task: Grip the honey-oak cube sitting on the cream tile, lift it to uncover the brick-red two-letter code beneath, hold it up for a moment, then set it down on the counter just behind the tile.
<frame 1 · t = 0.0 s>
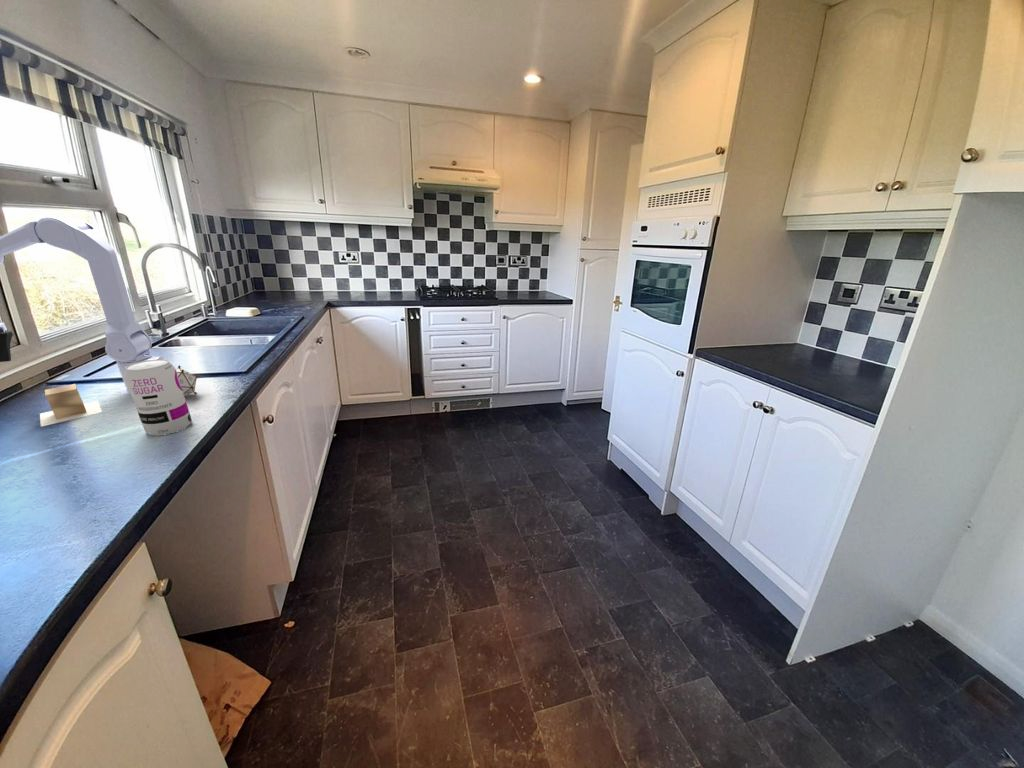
code tile: (72, 415, 97), on the countertop
oak cube: (71, 412, 97), point 1 cm above the countertop, touching code tile
game die: (183, 398, 107), on the countertop
supplement can: (170, 429, 91), on the countertop
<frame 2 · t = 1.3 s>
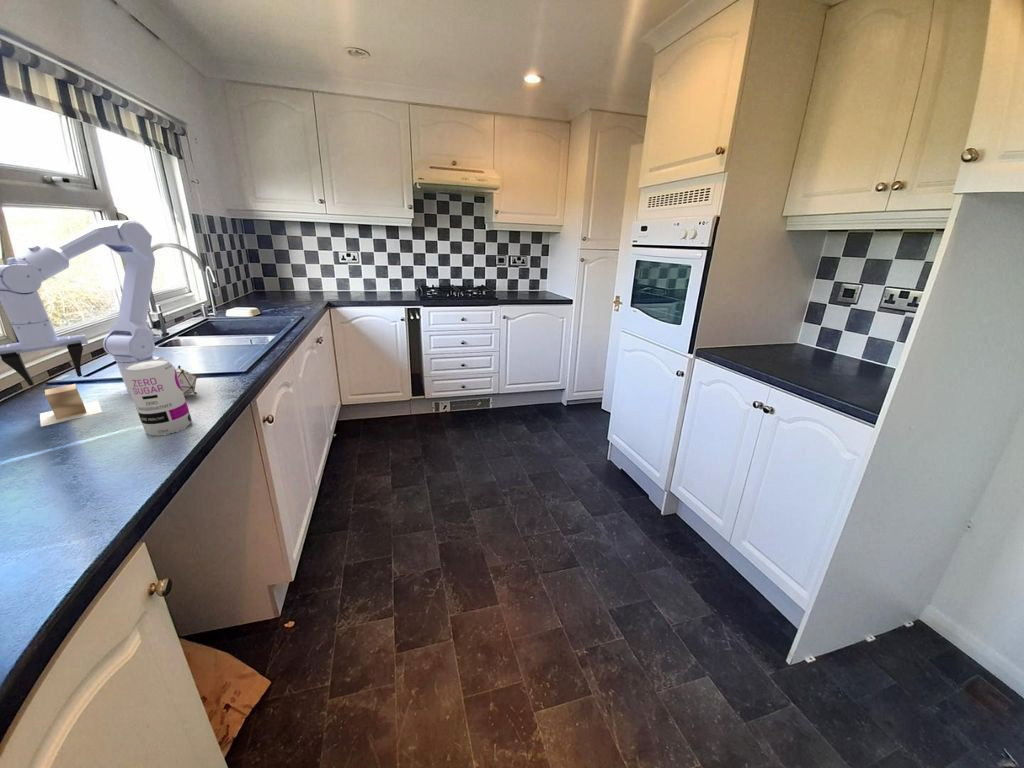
hand: (56, 380, 94), 9 cm above the countertop, tool pointing down, fingers open, 7 cm apart
nothing on the countertop moved.
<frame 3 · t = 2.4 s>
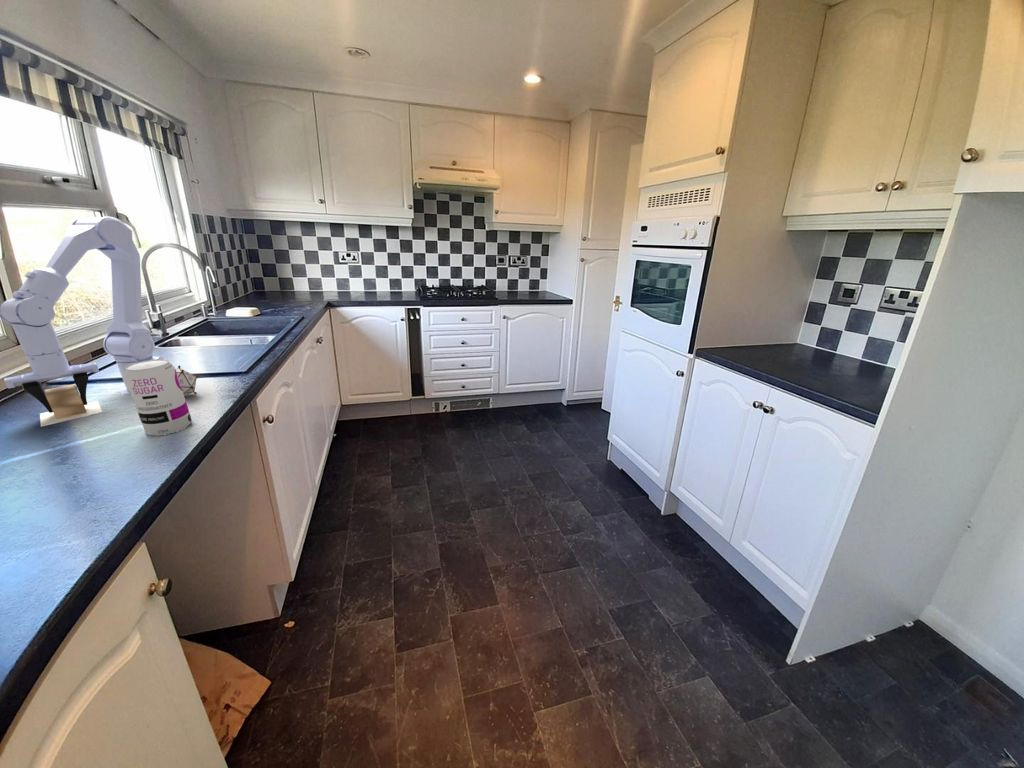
hand: (68, 407, 97), 2 cm above the countertop, tool pointing down, fingers closed on oak cube, 5 cm apart
oak cube: (71, 412, 97), point 1 cm above the countertop, touching code tile, gripper
everything else where it was.
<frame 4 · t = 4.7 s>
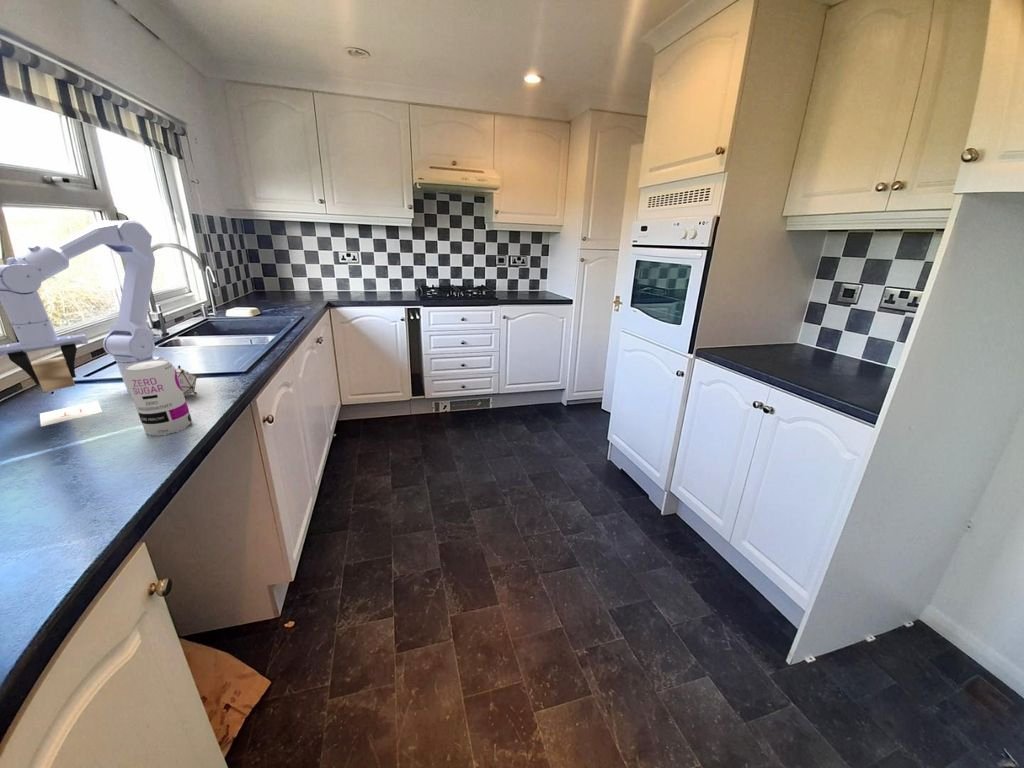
hand: (56, 379, 94), 9 cm above the countertop, tool pointing down, fingers closed on oak cube, 5 cm apart
oak cube: (59, 386, 95), point 7 cm above the countertop, touching gripper
everything else where it was.
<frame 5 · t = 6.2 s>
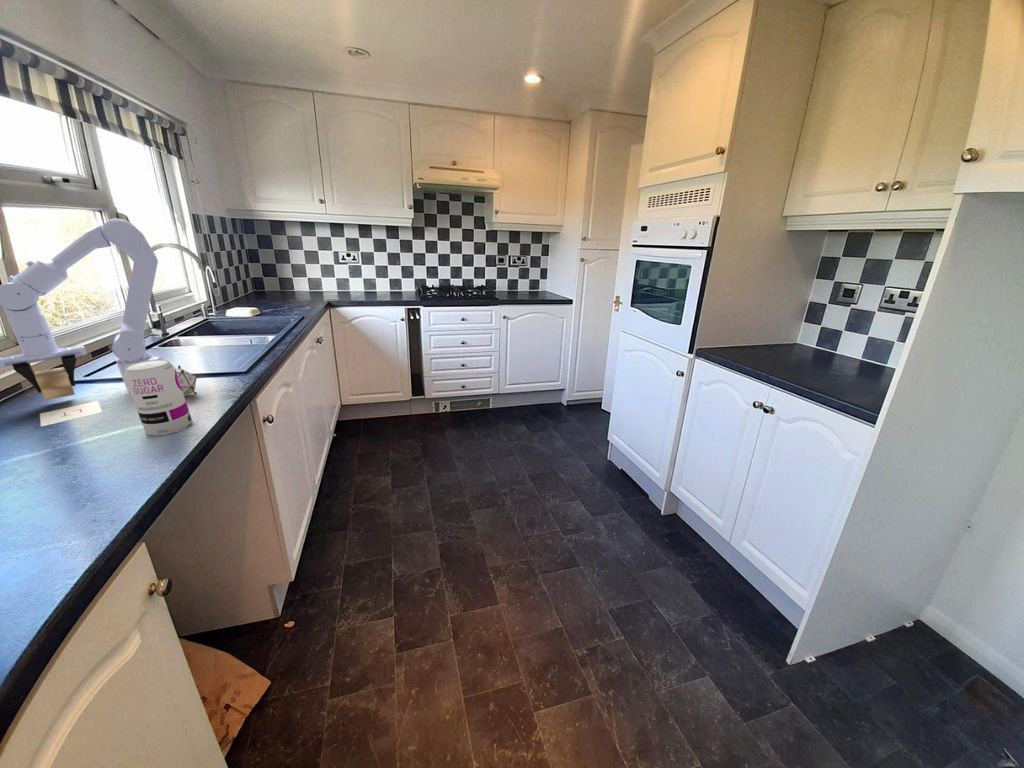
hand: (57, 388, 101), 5 cm above the countertop, tool pointing down, fingers closed on oak cube, 5 cm apart
oak cube: (60, 394, 102), point 3 cm above the countertop, touching gripper
everything else where it was.
when the fingers open (2 cm above the countertop, at t = 7.1 s): oak cube stays where it is, on the countertop.
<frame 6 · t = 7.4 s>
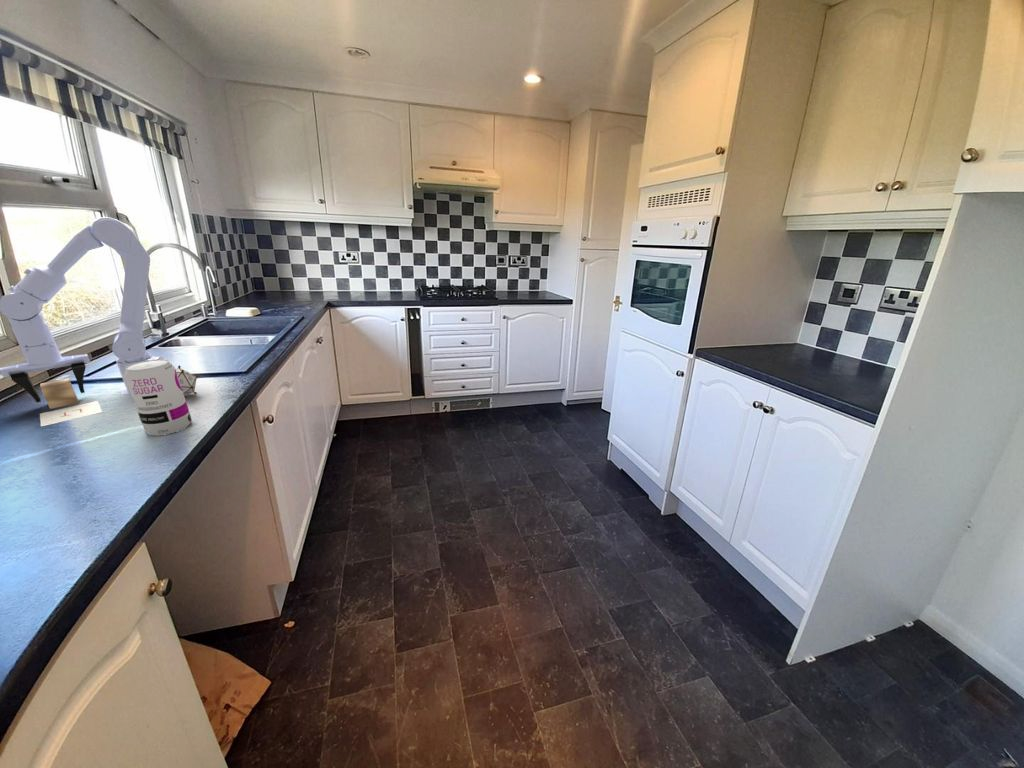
hand: (61, 396, 102), 2 cm above the countertop, tool pointing down, fingers open, 7 cm apart
oak cube: (65, 405, 103), on the countertop
everything else where it was.
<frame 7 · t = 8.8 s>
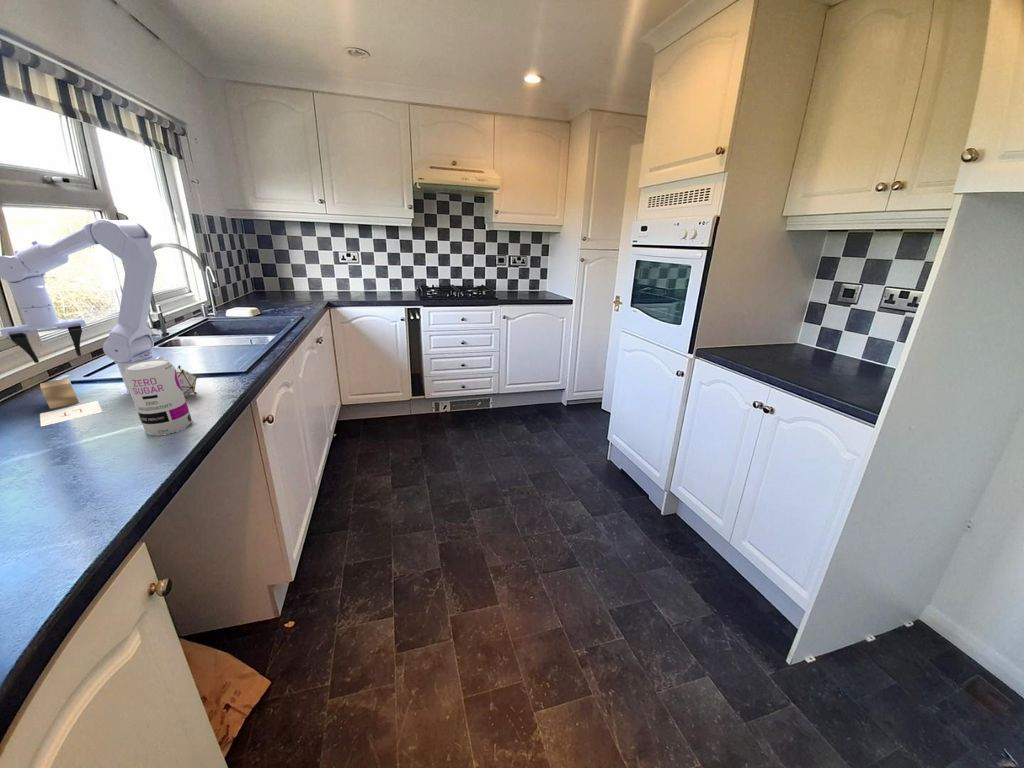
hand: (58, 358, 106), 10 cm above the countertop, tool pointing down, fingers open, 7 cm apart
nothing on the countertop moved.
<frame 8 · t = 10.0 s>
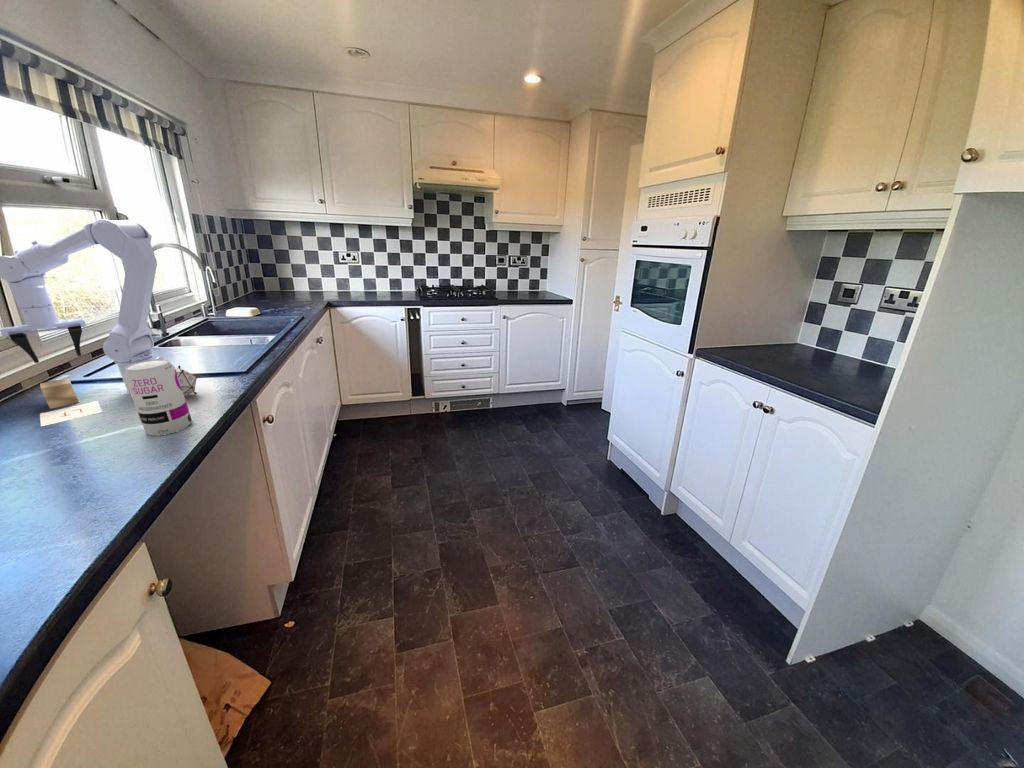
hand: (58, 358, 106), 10 cm above the countertop, tool pointing down, fingers open, 7 cm apart
nothing on the countertop moved.
at the end: oak cube 0.3 cm from the target spot, on the countertop; oak cube touching countertop; oak cube tilted 0° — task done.
